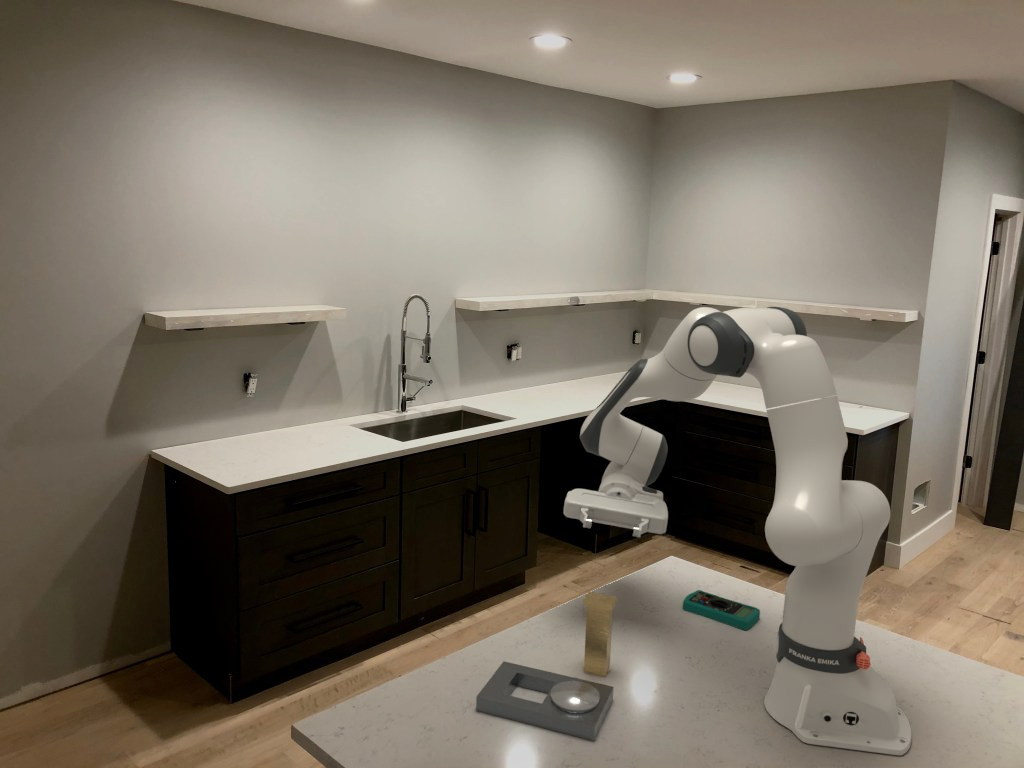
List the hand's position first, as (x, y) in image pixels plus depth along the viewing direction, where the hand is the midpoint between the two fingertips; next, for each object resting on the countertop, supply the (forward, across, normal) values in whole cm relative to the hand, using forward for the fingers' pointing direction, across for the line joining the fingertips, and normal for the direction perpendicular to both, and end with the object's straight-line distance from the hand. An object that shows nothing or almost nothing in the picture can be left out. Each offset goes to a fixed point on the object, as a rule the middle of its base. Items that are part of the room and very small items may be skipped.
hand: (611, 528), depth 150 cm
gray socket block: (+26, -6, +21) cm, 34 cm away
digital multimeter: (-16, +24, +24) cm, 37 cm away
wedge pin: (+13, +1, +22) cm, 25 cm away
